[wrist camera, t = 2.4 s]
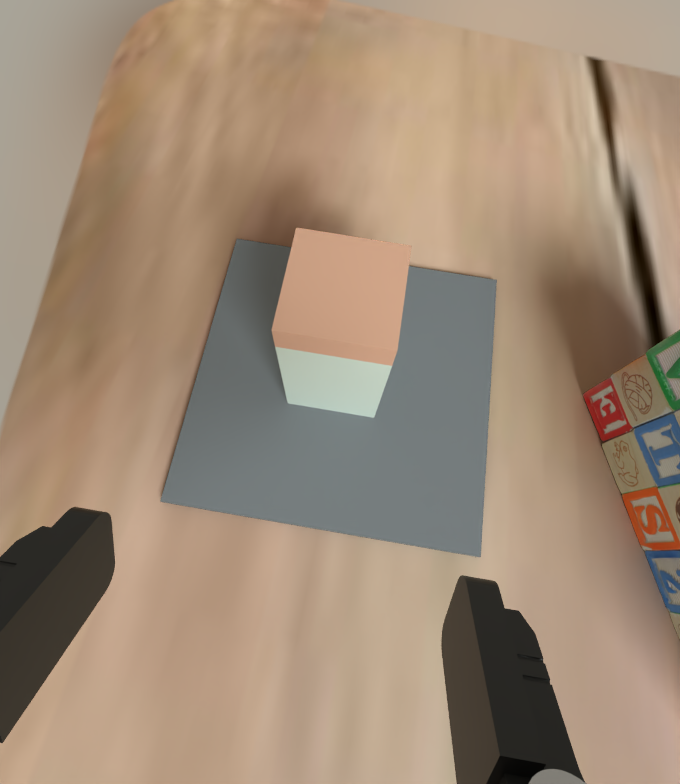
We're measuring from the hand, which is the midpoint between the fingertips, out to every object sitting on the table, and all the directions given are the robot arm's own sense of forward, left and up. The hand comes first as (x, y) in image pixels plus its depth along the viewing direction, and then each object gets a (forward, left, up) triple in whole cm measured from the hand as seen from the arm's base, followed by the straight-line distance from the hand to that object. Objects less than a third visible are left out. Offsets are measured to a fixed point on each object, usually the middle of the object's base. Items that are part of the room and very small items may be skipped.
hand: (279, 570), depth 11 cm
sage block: (0, -11, -14) cm, 18 cm away
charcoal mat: (-1, -10, -14) cm, 18 cm away
